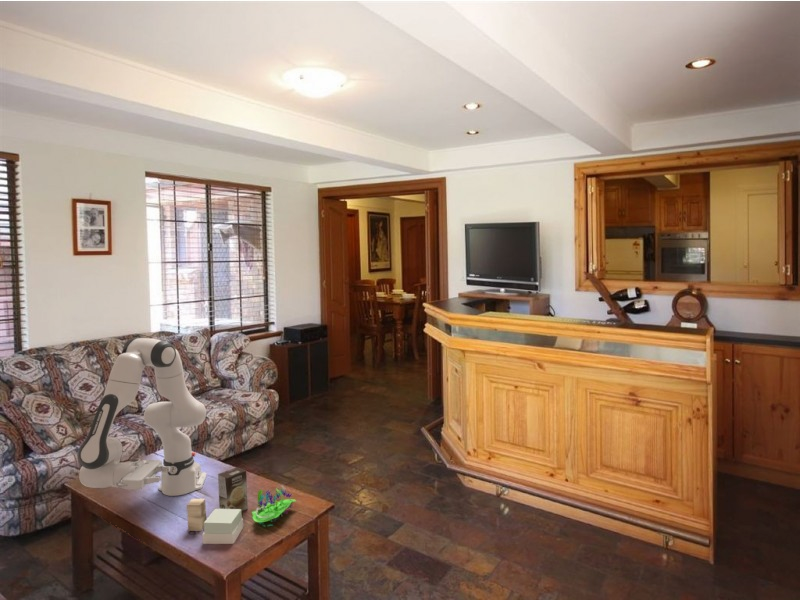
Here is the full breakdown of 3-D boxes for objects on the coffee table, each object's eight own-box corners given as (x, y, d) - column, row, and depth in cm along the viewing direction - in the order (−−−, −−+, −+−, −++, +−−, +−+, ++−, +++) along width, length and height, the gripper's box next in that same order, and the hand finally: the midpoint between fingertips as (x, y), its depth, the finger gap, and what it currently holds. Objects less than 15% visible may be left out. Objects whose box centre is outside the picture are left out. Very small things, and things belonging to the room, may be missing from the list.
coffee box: (228, 518, 209) (226, 478, 207) (219, 513, 213) (217, 474, 211) (248, 508, 216) (246, 470, 214) (239, 504, 220) (237, 466, 218)
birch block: (193, 523, 205) (192, 498, 204) (206, 523, 205) (205, 498, 204) (188, 530, 200) (186, 505, 199) (201, 530, 200) (200, 505, 199)
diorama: (240, 523, 205) (238, 492, 203) (281, 502, 220) (280, 474, 219) (263, 535, 196) (262, 502, 195) (304, 512, 212) (303, 482, 211)
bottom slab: (214, 528, 202) (213, 518, 202) (243, 528, 202) (242, 518, 201) (202, 544, 191) (202, 534, 191) (233, 544, 191) (232, 534, 190)
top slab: (215, 518, 201) (215, 508, 201) (241, 519, 201) (241, 509, 200) (204, 533, 191) (203, 522, 191) (231, 533, 191) (231, 523, 190)
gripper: (113, 477, 189) (153, 476, 190) (138, 456, 210) (174, 456, 210) (113, 494, 190) (153, 494, 190) (138, 472, 210) (174, 472, 211)
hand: (164, 474), depth 201 cm, fingers open, 8 cm apart
